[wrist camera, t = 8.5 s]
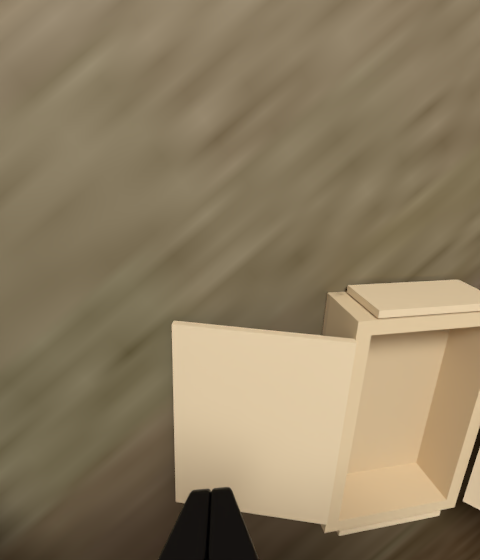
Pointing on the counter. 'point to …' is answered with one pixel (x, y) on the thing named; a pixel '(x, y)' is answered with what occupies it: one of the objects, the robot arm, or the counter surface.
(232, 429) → the carton
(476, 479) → the flap
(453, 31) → the counter surface
